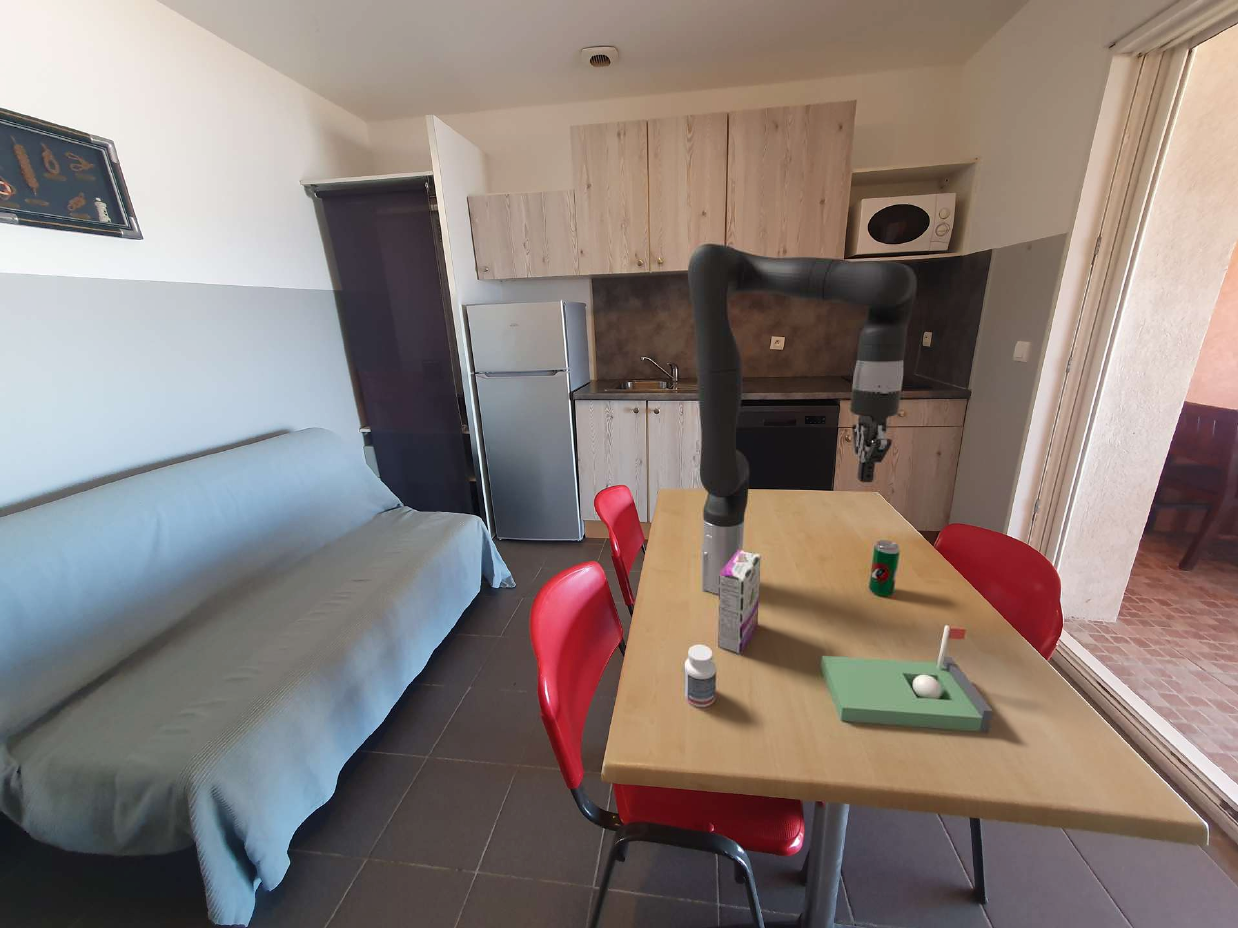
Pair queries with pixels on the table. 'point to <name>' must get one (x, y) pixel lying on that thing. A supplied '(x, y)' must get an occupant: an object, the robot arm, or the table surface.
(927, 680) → the ball
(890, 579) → the soda can
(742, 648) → the candy bar box
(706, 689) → the pill bottle
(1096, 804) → the table surface
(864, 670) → the green
